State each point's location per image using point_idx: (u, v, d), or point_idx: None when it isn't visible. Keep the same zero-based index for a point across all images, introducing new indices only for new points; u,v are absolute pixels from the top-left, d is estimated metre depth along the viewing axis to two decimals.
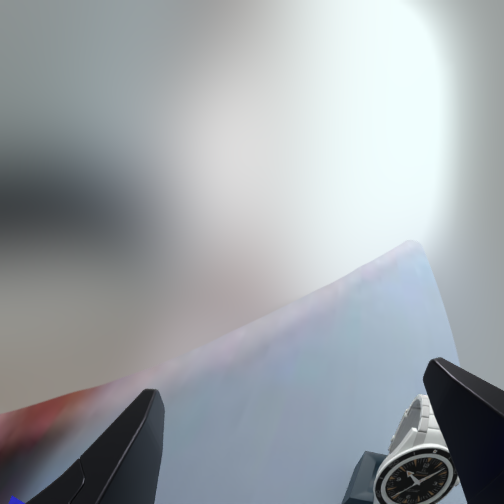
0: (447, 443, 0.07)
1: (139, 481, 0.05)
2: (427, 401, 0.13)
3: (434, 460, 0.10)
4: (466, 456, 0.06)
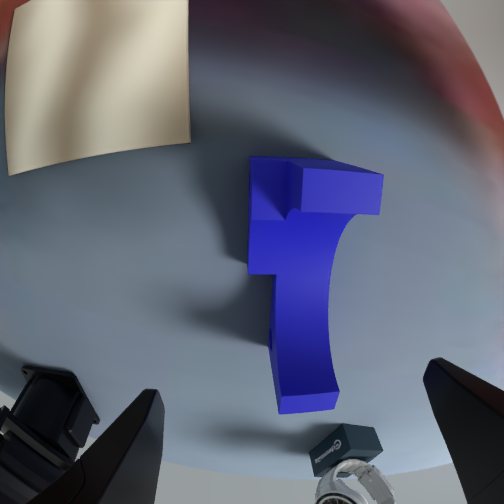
0: (447, 443, 0.07)
1: (139, 481, 0.05)
2: None
3: None
4: (466, 456, 0.06)
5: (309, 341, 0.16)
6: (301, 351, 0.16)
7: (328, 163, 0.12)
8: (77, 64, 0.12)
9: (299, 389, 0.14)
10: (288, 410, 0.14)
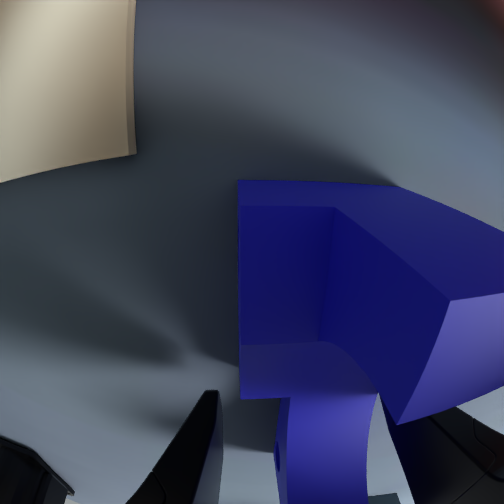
0: (401, 461, 0.07)
1: (211, 487, 0.06)
2: None
3: None
4: (419, 477, 0.05)
5: (337, 476, 0.08)
6: (324, 491, 0.08)
7: (424, 211, 0.05)
8: None
9: None
10: None
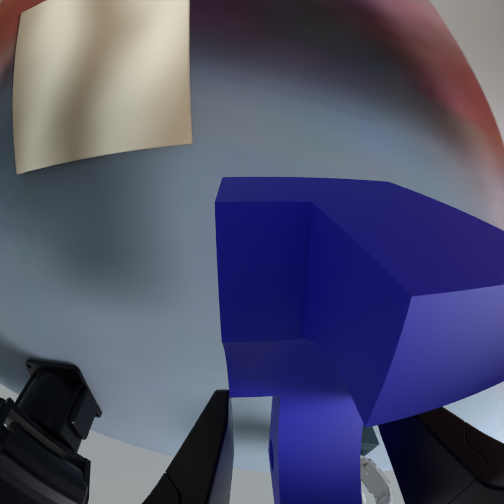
0: (392, 464, 0.07)
1: (223, 487, 0.06)
2: None
3: None
4: (410, 481, 0.05)
5: (330, 476, 0.08)
6: (317, 491, 0.08)
7: (407, 204, 0.05)
8: (83, 68, 0.13)
9: None
10: None
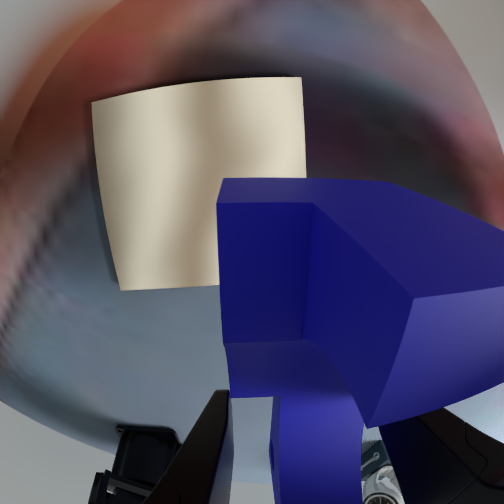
0: (392, 463, 0.07)
1: (224, 487, 0.06)
2: None
3: None
4: (410, 481, 0.05)
5: (331, 476, 0.08)
6: (318, 491, 0.08)
7: (409, 205, 0.05)
8: (196, 198, 0.17)
9: None
10: None
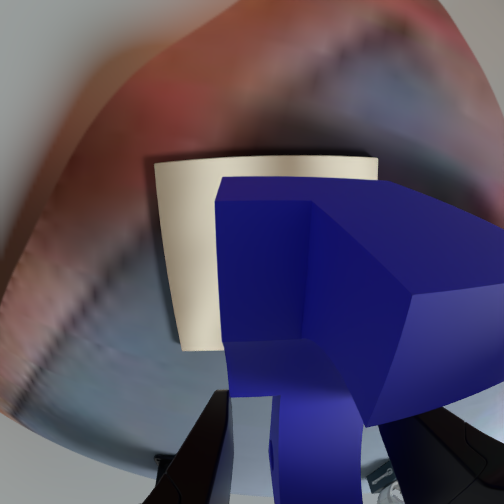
0: (392, 463, 0.07)
1: (223, 487, 0.06)
2: None
3: None
4: (410, 481, 0.05)
5: (330, 476, 0.08)
6: (317, 491, 0.08)
7: (408, 203, 0.05)
8: None
9: None
10: None
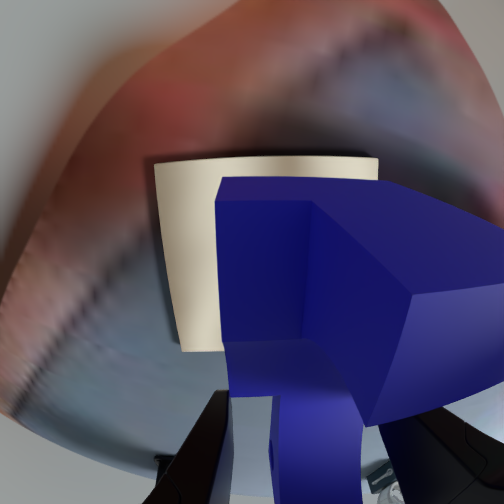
0: (392, 463, 0.07)
1: (223, 487, 0.06)
2: None
3: None
4: (410, 481, 0.05)
5: (330, 476, 0.08)
6: (317, 491, 0.08)
7: (408, 203, 0.05)
8: None
9: None
10: None
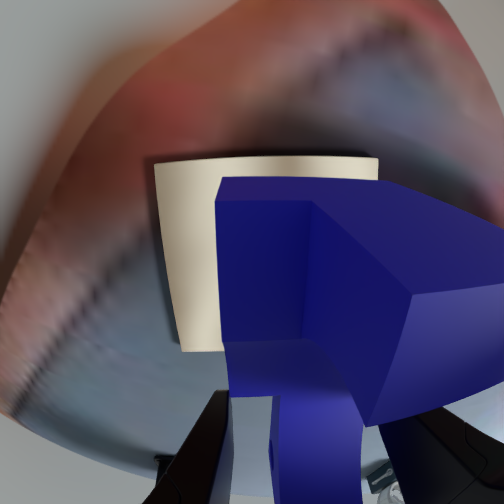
0: (392, 463, 0.07)
1: (223, 487, 0.06)
2: None
3: None
4: (410, 481, 0.05)
5: (330, 476, 0.08)
6: (317, 491, 0.08)
7: (408, 203, 0.05)
8: None
9: None
10: None
